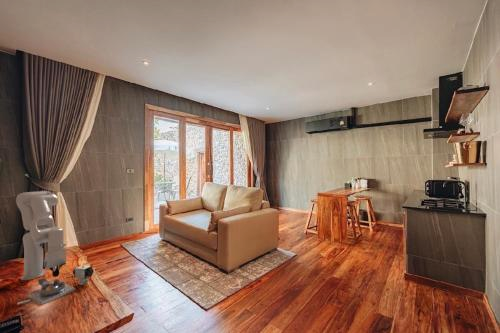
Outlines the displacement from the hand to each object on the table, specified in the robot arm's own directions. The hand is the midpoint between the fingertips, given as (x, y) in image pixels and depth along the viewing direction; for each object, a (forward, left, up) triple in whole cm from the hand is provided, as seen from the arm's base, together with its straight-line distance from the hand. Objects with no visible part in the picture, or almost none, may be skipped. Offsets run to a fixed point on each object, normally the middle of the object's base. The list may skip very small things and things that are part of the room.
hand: (55, 276), depth 141 cm
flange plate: (+12, -9, -5) cm, 16 cm away
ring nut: (+7, -6, -4) cm, 10 cm away
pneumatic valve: (+15, +9, -6) cm, 18 cm away
